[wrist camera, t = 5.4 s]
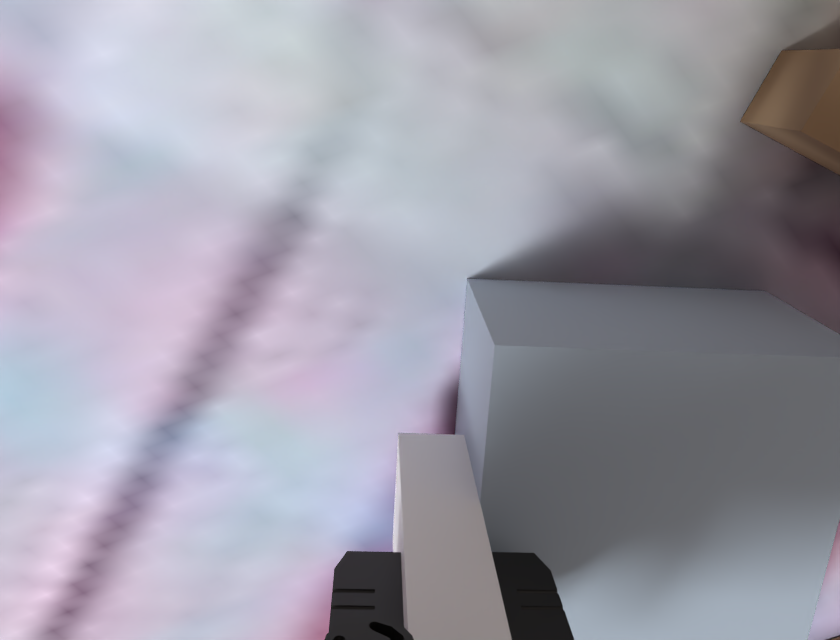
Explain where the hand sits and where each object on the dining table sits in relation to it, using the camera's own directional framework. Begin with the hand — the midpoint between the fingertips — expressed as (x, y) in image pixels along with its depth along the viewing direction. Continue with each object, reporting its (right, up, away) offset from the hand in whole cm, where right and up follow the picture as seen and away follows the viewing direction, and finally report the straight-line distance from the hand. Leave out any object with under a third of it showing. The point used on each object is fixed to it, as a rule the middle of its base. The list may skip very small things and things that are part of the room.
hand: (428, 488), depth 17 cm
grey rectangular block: (+4, +1, +2) cm, 5 cm away
